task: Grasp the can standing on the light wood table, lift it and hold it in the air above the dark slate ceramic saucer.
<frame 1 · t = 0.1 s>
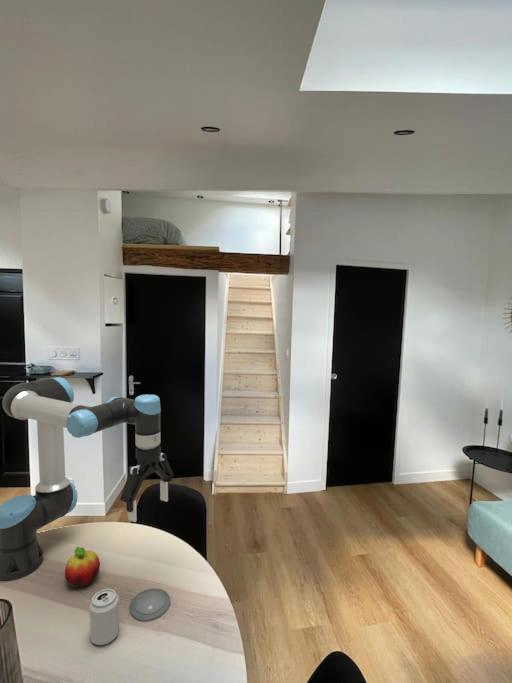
hand: (149, 509, 119), 28 cm above the table, fingers open, 13 cm apart
fruit: (83, 581, 127), on the table
saucer: (150, 605, 117), on the table
can: (105, 636, 106), on the table
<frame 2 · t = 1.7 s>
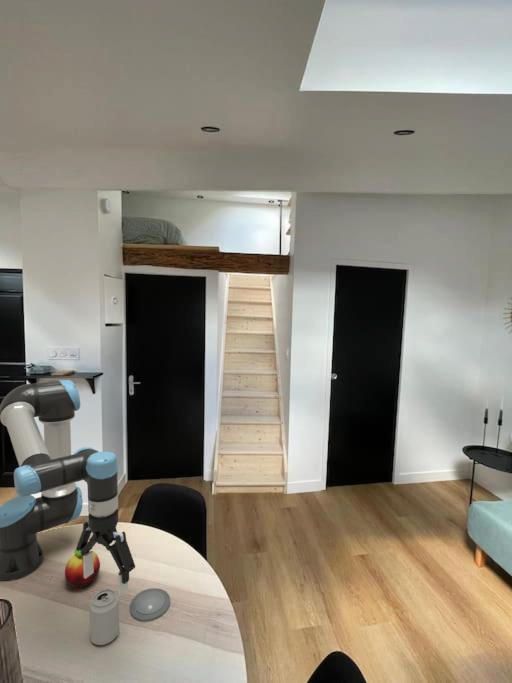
hand: (105, 583, 104), 16 cm above the table, fingers open, 13 cm apart
nothing on the table moved.
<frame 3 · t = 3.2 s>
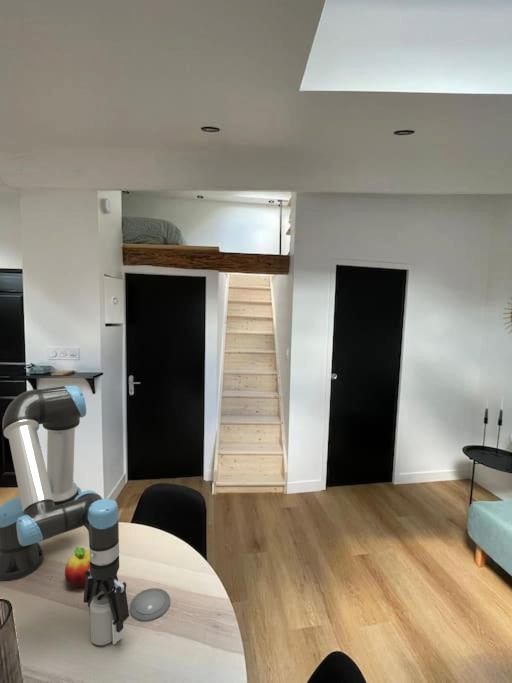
hand: (106, 633, 106), 1 cm above the table, fingers open, 8 cm apart
can: (105, 636, 106), on the table, touching gripper
everything else where it was.
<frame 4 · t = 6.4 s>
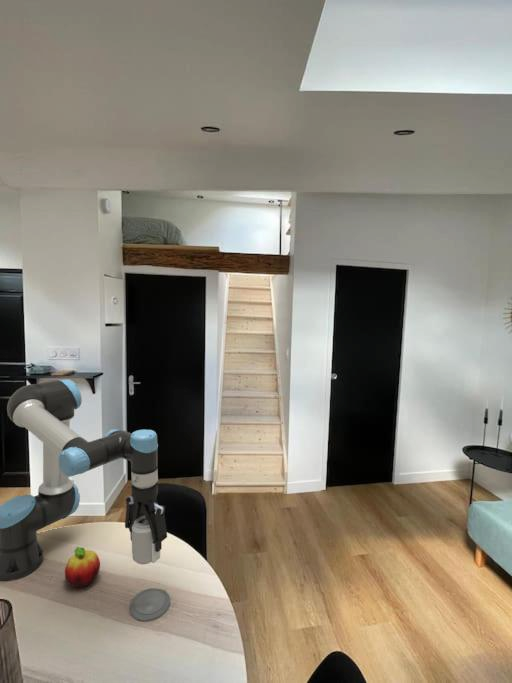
hand: (145, 555, 114), 17 cm above the table, fingers closed on can, 7 cm apart
can: (145, 558, 114), point 16 cm above the table, touching gripper
everything else where it was.
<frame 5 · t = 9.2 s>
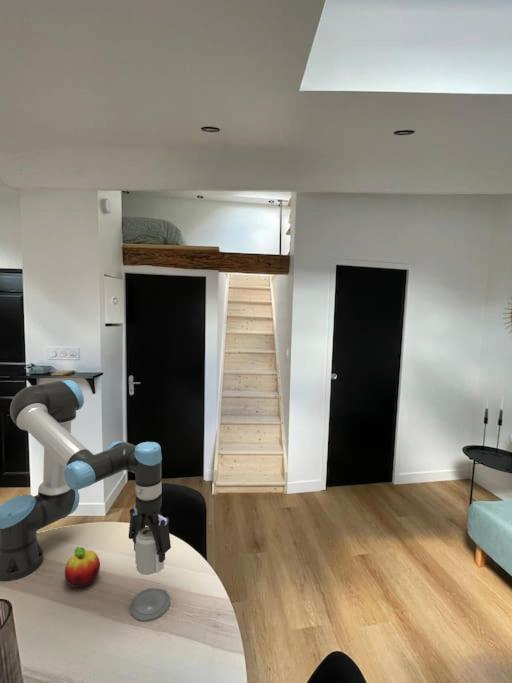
hand: (149, 565, 115), 13 cm above the table, fingers closed on can, 7 cm apart
can: (149, 568, 115), point 12 cm above the table, touching gripper
everything else where it was.
at the end: the gripper is holding can; can point 12.2 cm above the table; can inside the target area on the saucer (0.1 cm from its centre), point 12.2 cm above the saucer's base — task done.
